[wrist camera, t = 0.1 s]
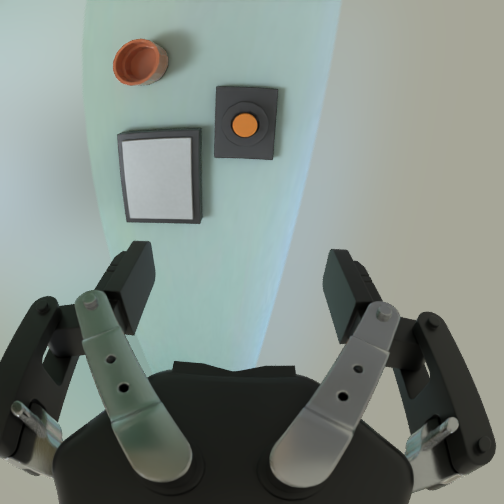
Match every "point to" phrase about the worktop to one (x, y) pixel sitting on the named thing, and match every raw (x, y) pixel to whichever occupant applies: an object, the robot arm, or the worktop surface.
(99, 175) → the worktop surface
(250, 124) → the tare button
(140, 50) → the copper cup
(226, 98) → the block
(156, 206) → the scale
